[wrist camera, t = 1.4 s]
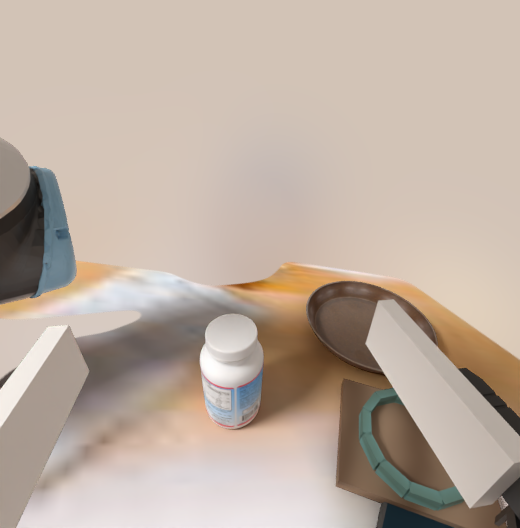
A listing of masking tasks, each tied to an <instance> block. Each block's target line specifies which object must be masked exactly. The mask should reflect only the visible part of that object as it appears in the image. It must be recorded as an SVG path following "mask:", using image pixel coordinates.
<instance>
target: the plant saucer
mask: <svg viewBox="0 0 520 528" xmlns="http://www.w3.org/2000/svg"><path fill="white" fill-rule="evenodd" d="M392 299H394V300H395V301H396V302H397V304H398V305H399V306H400V307H401V308H402V309H403V310H404V311H405V312H406V313H407V314H408V315H409V317H410V318H411V319H412V320H413V321H414V322H415V323H416V324H417V325H418V326H419V327H420V328H421V330H422V331H423V332H424V333H425V334H426V335H427V336H428V337H429V338H430V339H431V340H432V342H433V343H434V344H435V345H436V346H437V347H438V342H437V337H436V333H435V331H434V329H433V327H432V325H431V324H430V322H429V321H428V319H427V318H426V317H425V316H424V315H423V314H422V313H421V312H420V311H419V310H418V309H417V308H416V307H415V306H414V305H412V304H411V303H410V302H408V301H407V300H405V299H404V298H402V297H400V296H399V295H397V294H395V293H393V292H391V291H389V290H386V289H384V288H381V287H378V286H375V285H371V284H367V283H362V282H355V281H339V282H333V283H328V284H326V285H323V286H321V287H319V288H318V289H316V290H315V291H314V292H313V293H312V294H311V295H310V297H309V299H308V302H307V306H306V312H307V317H308V321H309V323H310V325H311V327H312V329H313V331H314V333H315V334H316V336H317V337H318V339H319V340H320V341H321V342H322V343H323V345H324V346H325V347H326V348H327V349H328V350H330V351H331V352H332V353H333V354H334V355H336V356H337V357H338V358H340V359H341V360H343V361H345V362H346V363H348V364H350V365H352V366H355V367H357V368H360V369H363V370H366V371H370V372H375V373H383V374H384V372H383V371H382V369H381V367H380V366H379V364H378V363H377V361H376V360H375V358H374V356H373V355H372V353H371V352H370V350H369V349H368V347H367V345H366V340H367V337H368V334H369V330H370V327H371V323H372V320H373V317H374V313H375V310H376V307H377V303H378V301H380V300H392Z"/></svg>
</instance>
